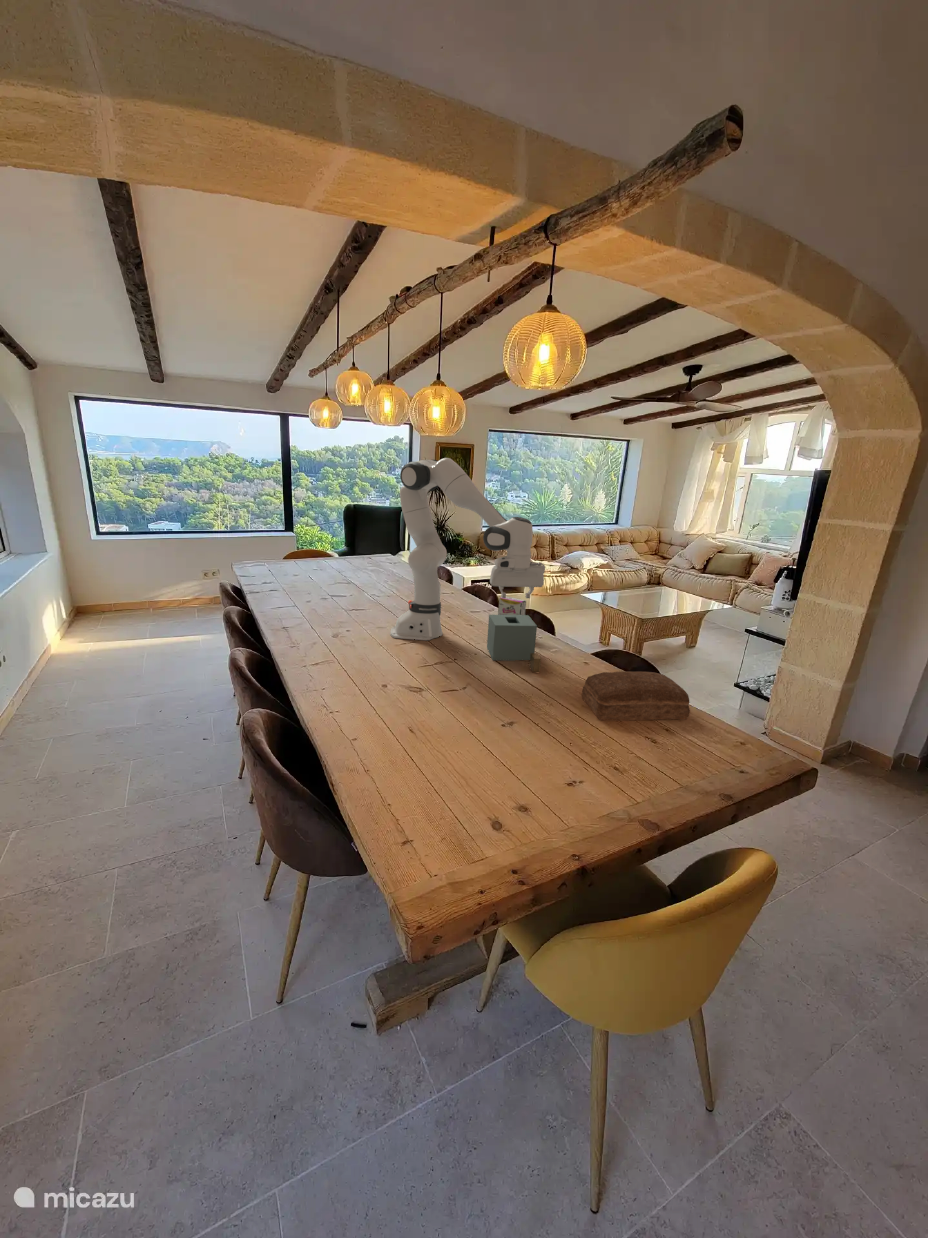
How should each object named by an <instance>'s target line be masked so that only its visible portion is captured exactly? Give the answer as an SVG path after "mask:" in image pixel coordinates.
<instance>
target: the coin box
mask: <svg viewBox="0 0 928 1238" xmlns="http://www.w3.org/2000/svg"><path fill="white" fill-rule="evenodd" d="M487 627H488V628H487V641H486V649H487V651H488V650H489V651H488V653H489V655H491V656H490V658H491V660H492V661H515V660H530V655H531V653H536V652H535V649H536V643H537V642H536V640H537V632H538V631H537V629H538V625H537V624H536V623H535V622H534V621H533V620H532V618H531V617H530V616H529V615H528V614H527V615H526V614H525V615H498V614H488V626H487Z"/></svg>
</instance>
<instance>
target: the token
mask: <svg viewBox="0 0 928 1238" xmlns="http://www.w3.org/2000/svg"><path fill="white" fill-rule="evenodd" d="M541 662H542V658H541V657H540V655H539V654H538V653H537V652H534V653H531V655H530V661H529V669H530V668H531V669H530V671H531V672H532V671H533V672H541ZM533 672H532V673H533Z"/></svg>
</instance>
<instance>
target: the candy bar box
mask: <svg viewBox="0 0 928 1238" xmlns="http://www.w3.org/2000/svg"><path fill="white" fill-rule="evenodd" d="M526 607H527V600H526V599H521V598H516V597H511V596H507V595H506V598H502V597H501V596H500V597H499V599H498V611H497V615H526Z"/></svg>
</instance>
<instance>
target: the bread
mask: <svg viewBox="0 0 928 1238" xmlns="http://www.w3.org/2000/svg"><path fill="white" fill-rule="evenodd" d="M584 682H585V683H584V685H583V686H582V690H581V698H582V699H583V701H584V700H585V701H584V702H585V703H586V704H587V705H588V707H589V708H590V709H591V710H592V712H593V714H594V715H595V716H596V717H597V718H598V719H599V720H600V721H643V720H644V721H648V720H649V721H650V720H670V719H671V720H673V719H674V720H683V721H684V720H687V719H688V718H689V716H690V711H691V709H690V705H689V704H690V696H689V694H688V692H687V691H686V690H685V689H684V688H683V687H681V686H680V685H679V684H678V683H677V682H675V681H674V680H673V679H671V678H670V677H668V676H666V674H665V675H664V674H663V673H657V672H652V671H628V670H627V671H612V672H609V671H608V672H607V671H605V672H600V673H595V674H593V675H590V676H587V678H586V679H585V680H584Z"/></svg>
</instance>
